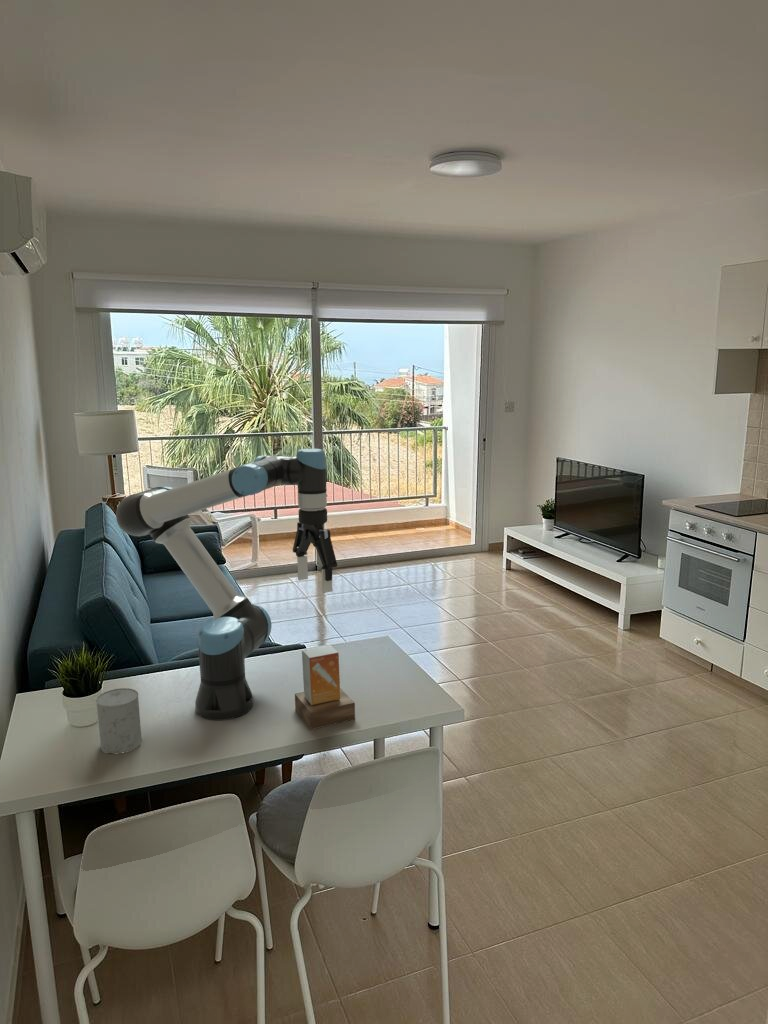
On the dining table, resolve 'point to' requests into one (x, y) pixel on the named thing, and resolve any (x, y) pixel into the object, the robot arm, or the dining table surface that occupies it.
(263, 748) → the dining table surface
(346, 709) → the walnut block
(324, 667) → the small box
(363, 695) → the dining table surface
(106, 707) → the grey marble cylinder
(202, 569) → the robot arm
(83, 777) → the dining table surface
